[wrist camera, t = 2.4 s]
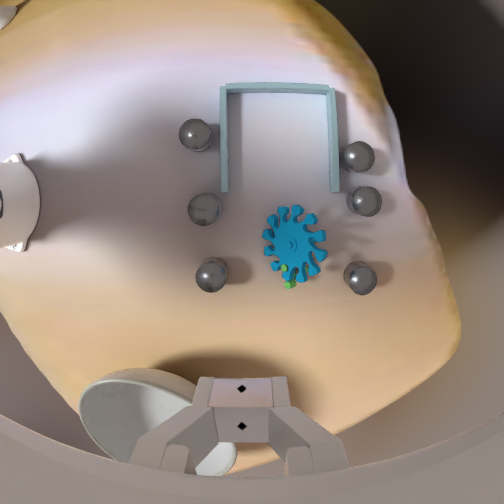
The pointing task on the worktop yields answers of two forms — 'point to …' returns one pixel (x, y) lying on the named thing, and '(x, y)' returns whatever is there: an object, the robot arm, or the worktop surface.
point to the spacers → (210, 208)
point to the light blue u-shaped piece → (281, 88)
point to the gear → (294, 245)
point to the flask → (6, 15)
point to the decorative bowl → (141, 413)
